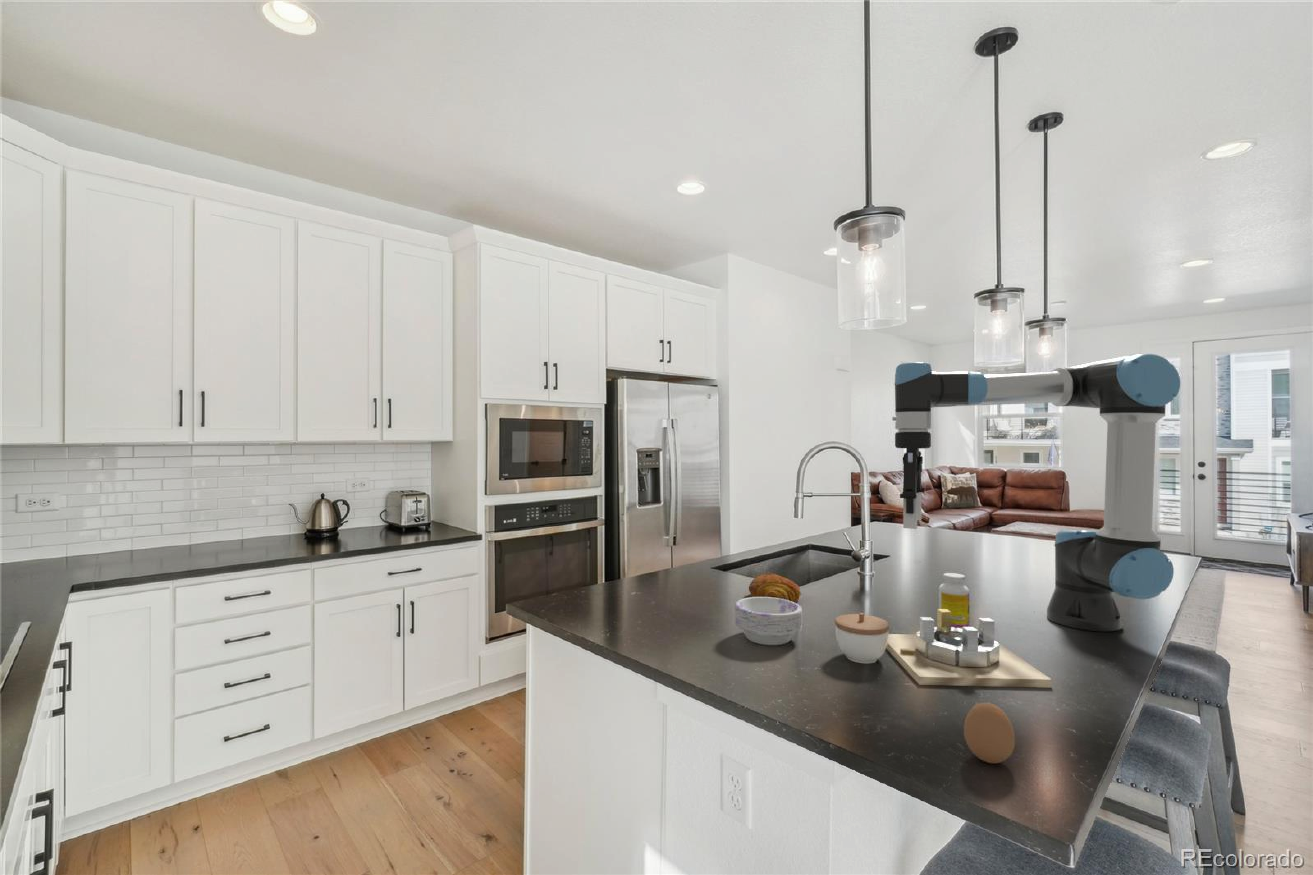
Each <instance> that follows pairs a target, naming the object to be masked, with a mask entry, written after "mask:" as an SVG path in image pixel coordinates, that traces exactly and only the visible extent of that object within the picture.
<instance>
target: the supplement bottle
mask: <svg viewBox="0 0 1313 875" xmlns="http://www.w3.org/2000/svg"><path fill="white" fill-rule="evenodd" d="M942 576H943V581H944V582H943V583H941V584H940V585H939V587H938V609H947V610H949V611H950V612H951V627H954V628H961V629H962V627H970V589H969V587H967V585H965V581H966V576H965V575H964V574H961V573H956V572H955V573H954V572H946V573H945V572H944V573H943V575H942Z"/></svg>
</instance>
